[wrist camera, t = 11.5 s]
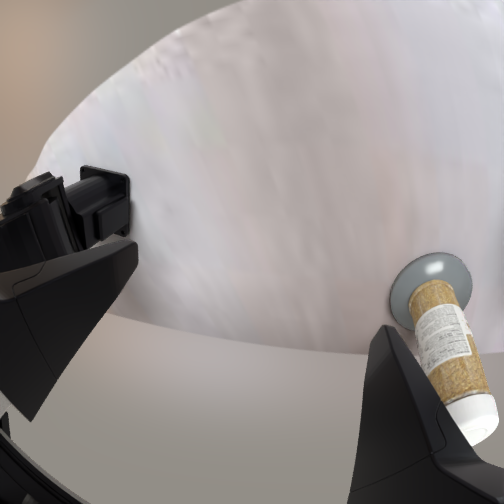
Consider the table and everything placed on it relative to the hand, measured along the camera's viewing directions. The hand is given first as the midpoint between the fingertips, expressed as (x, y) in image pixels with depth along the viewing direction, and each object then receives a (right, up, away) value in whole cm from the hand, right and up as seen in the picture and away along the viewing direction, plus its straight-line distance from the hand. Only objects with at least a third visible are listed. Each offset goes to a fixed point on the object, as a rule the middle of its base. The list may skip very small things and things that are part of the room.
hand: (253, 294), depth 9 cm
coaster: (+16, -2, +12) cm, 20 cm away
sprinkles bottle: (+15, -3, +11) cm, 19 cm away
